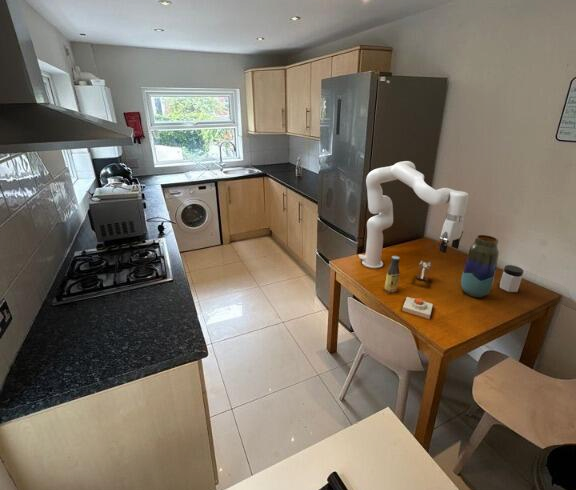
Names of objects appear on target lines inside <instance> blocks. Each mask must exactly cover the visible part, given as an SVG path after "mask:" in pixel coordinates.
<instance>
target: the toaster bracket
mask: <svg viewBox="0 0 576 490" xmlns="http://www.w3.org/2000/svg"><path fill="white" fill-rule="evenodd" d="M423 262H424V260H420V262H419V263H418V272H417V277H418V278H421V274H422V270H423V269H422V265H423ZM427 263H428V264H427V269H426V271H425V272H426V273H425V277H424V279H426V280H427V281H426V282H424V283H425V284H427V283H428V280H429V274H430V269H432V265H431V264H432V263H431V261H430V262H427ZM416 281H417V282H418V281H420V280H416Z"/></svg>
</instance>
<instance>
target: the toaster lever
mask: <svg viewBox="0 0 576 490" xmlns="http://www.w3.org/2000/svg"><path fill="white" fill-rule="evenodd" d="M428 263H429V262H424V261H423V264H422V270H421V275H420V278H418V276H417V277H415V280H416V281H417V280H419V281H421V282H424V283H425V282H426V281H427V282H428V280H426V279H425V278H424V276H425V272H426V271H427V267H428Z"/></svg>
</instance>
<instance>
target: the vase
mask: <svg viewBox="0 0 576 490" xmlns="http://www.w3.org/2000/svg"><path fill="white" fill-rule="evenodd" d="M498 245H499V239H498V238H496V237H494V236H491V235H488V234H487V235H486V234H478V235H476V237H475V240H474V242H473V243H472V245H470V247H469V251H468V254H467V257H466V260H465V263H464V267H463V270H462V274H461V278H460V286H461V289H462V291H463V292H464V293H465V294H466V295H468V296H470V297H474V298H483V297H485V296H487V295H489V294H490V292H491V290H492V288H493V285H494V281H495V276H496V271H497V266H498V260H499V254H500V252H499V247H498Z"/></svg>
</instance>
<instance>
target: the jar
mask: <svg viewBox="0 0 576 490" xmlns="http://www.w3.org/2000/svg"><path fill="white" fill-rule="evenodd" d="M523 275H524V269H523V268H521V267H519V266H517V265H512V264H506V265H505V266H504V267H503V271H502V275H501V278H500V282H499V289H500V290H502V291H503V290H504V291H505V292H507V293H518V292H519V288H520V285H521V282H522V279H523Z"/></svg>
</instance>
